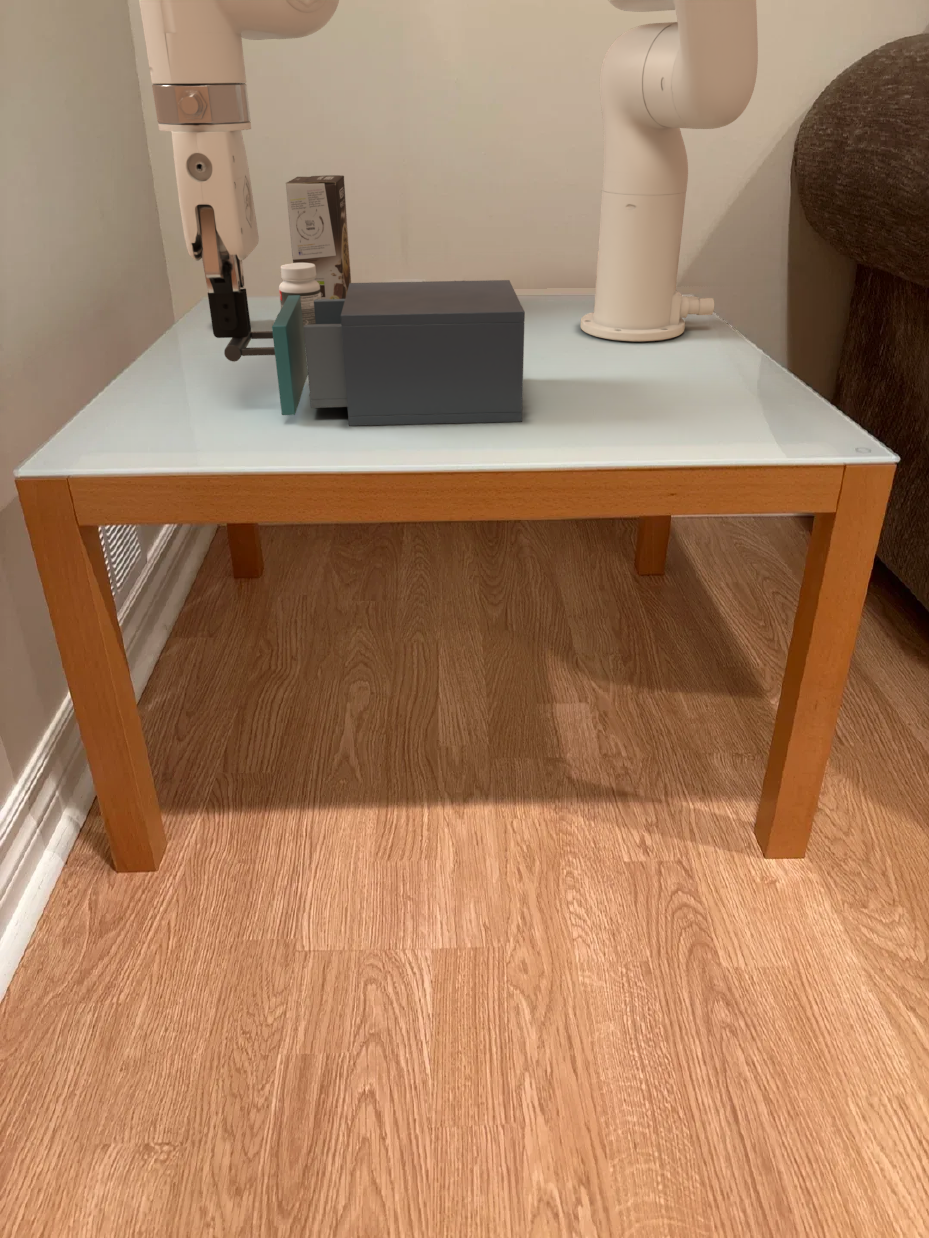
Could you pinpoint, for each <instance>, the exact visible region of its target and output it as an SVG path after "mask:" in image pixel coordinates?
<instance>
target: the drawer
mask: <svg viewBox="0 0 929 1238" xmlns="http://www.w3.org/2000/svg"><path fill="white" fill-rule="evenodd" d="M344 302H345V299H315V300H314V311H315V322H316V324H307V325H304V327H303V318H302V308H301V297H300V295H289V296H288V297H287V299H286V301H285V303H284V305H283V307H282V309H281V308H280V311H279V312H278V314H277V316H276V318H275V320H274V322H273V324H272V326H271V330H260V331H259V330H256V331H255V330H253V331H252V330H251V331H250V333H249V335H248V336H247V337H241V338H230V340H229V342H228V343H227V345H226V346H225V348H224V352H223V353H224V357H225V358H226V359H227V360H228V361H229V362H237V361H240V359H241V357H245V356H246V357H249V356H250V357H251V356H253V357H254V356H256V357H257V356H274V358H275V359H274V360H275V366H276V374H277V376H276V377H277V383H278V384H277V385H278V393H279V401H280V410H281V415H282V416H295V415H296V412H297V409H298V407H299V403H300V400H301V397H302V394H303V391H304V388H305V385H306V382H307V379H308V389H309V390H308V391H309V399H310V408H311V409H317V408H318V409H319V408H321V409H322V408H348V407H347V394H346V381H345V367H344V354H343V340H342V325H341V313H342V309H343V305H344ZM303 328H304V329H303ZM304 338H305V339H304ZM270 339H271V340H272V339H273V346H261V347H260V346H259V347H258V346H257V347H248V346H249V343H250V342H251V340H270Z"/></svg>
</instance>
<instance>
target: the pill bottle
mask: <svg viewBox="0 0 929 1238" xmlns="http://www.w3.org/2000/svg"><path fill="white" fill-rule="evenodd" d="M280 278H281V280H283V281H282V282H280V283H279V286H278V290H279V302H280V310H281V309H282V307H283V305H284V303H285V301H286V299H287V297H288V296H289V295H300V297H301V308H302V318H303V327H304V325H307V324H316V322H315V311H314V300H315V299H321V295H320V285H319V283H318V282H317V281H315V280H314V279H315V278H316V268H315V265H314V264H312V263H293V262H289V263H284V264H282V265H280ZM303 329H304V328H303ZM304 339H305V338H304Z"/></svg>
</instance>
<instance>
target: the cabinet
mask: <svg viewBox="0 0 929 1238" xmlns="http://www.w3.org/2000/svg"><path fill="white" fill-rule="evenodd" d="M525 314H526V312H525V310H524V308H523V305H522V304H521V301H520V299H519V297H518V295H517V293H516V291H515V288H514V287H513V285H512V283H511V281H510V280H509V279H498V280H497V279H495V280H494V279H492V280H491V279H490V280H489V279H487V280H442V281H441V280H440V281H438V280H437V281H436V280H435V281H381V282H377V281H376V282H351V283H349V287H348V291H347V294H346V298H345V302H344V305H343V309H342V313H341V325H342V340H343V354H344V367H345V381H346V394H347V407H346V408H347V419H348V426H349V427H352V426H353V427H357V426H359V427H360V426H394V425H395V426H396V425H397V426H398V425H399V426H400V425H433V424H435V425H436V424H437V425H438V424H439V425H440V424H475V423H476V424H477V423H479V424H481V423H482V424H483V423H517V422H522V421H523V395H524V394H523V392H524V391H523V390H524V357H525V356H524V355H525V353H524V352H525V318H526V317H525V316H526V315H525Z"/></svg>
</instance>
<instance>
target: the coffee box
mask: <svg viewBox="0 0 929 1238" xmlns="http://www.w3.org/2000/svg"><path fill="white" fill-rule="evenodd" d="M285 188H286V189H285V190H286V199H287V200H286V201H287V212H288V222H289V223H288V224H289V232H290V233H289V235H290V245H291V256H292V257H291V258H292V263H312V264H314V265H315V268H316V278H315V279H314V280H315V281H317V282H318V283H319V285H320V295H321V299H345V298H346V294H347V291H348V287H349V283H352V275H351V260H350V248H349V231H348V219H347V204H346V202H347V201H346V188H345V176H344V175H338V174H337V175H335V174H334V175H333V174H331V175H330V174H329V175H311V176H296V177H293V179H291V180H289V181H287V182H285Z"/></svg>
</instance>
